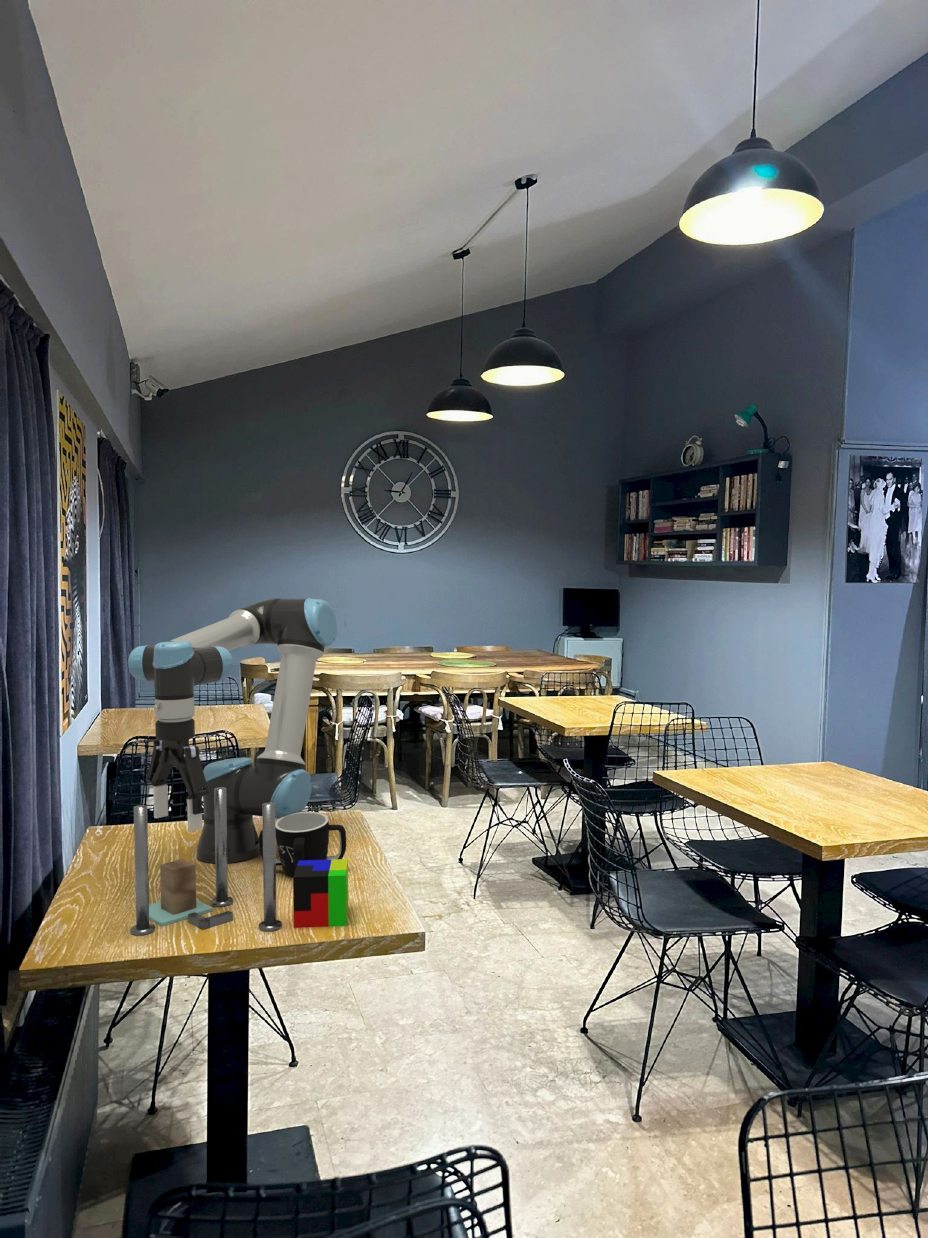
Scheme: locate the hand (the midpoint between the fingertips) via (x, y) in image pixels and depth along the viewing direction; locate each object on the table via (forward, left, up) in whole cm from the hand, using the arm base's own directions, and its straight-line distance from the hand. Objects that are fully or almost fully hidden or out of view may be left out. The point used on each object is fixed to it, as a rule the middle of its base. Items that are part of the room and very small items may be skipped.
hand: (177, 823), depth 175 cm
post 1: (+4, -10, -18) cm, 21 cm away
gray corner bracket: (+9, +2, -18) cm, 20 cm away
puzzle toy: (+23, +18, -18) cm, 35 cm away
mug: (-2, +32, -18) cm, 36 cm away
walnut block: (0, 0, -17) cm, 17 cm away
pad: (-1, -1, -18) cm, 18 cm away
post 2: (+2, +8, -18) cm, 20 cm away
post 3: (+20, +8, -18) cm, 28 cm away
